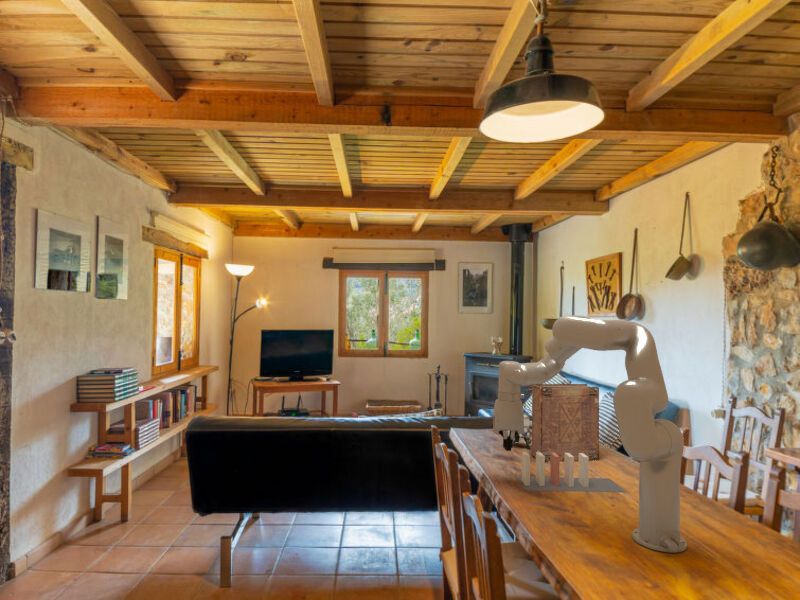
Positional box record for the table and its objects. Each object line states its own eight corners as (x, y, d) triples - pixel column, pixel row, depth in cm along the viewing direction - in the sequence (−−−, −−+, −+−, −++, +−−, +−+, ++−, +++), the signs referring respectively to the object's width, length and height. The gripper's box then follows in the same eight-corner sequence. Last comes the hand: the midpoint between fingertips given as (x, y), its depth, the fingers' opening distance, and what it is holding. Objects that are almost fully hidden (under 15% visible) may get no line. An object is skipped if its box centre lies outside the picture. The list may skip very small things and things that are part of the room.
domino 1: (529, 485, 168) (530, 456, 168) (525, 485, 168) (525, 455, 168) (526, 480, 173) (526, 452, 173) (521, 480, 173) (521, 451, 173)
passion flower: (527, 459, 220) (538, 441, 214) (504, 455, 219) (514, 437, 213) (522, 440, 230) (532, 422, 223) (500, 436, 228) (510, 418, 222)
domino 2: (544, 486, 168) (544, 456, 168) (539, 485, 168) (540, 456, 168) (540, 481, 173) (540, 452, 173) (535, 481, 173) (536, 452, 173)
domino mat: (627, 494, 164) (627, 492, 164) (524, 492, 163) (524, 490, 164) (609, 480, 178) (609, 478, 178) (515, 478, 177) (515, 476, 178)
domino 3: (559, 486, 168) (559, 456, 168) (554, 486, 168) (554, 456, 168) (554, 481, 173) (555, 452, 173) (550, 481, 173) (550, 452, 173)
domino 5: (588, 486, 168) (588, 457, 168) (583, 486, 168) (584, 457, 168) (583, 482, 173) (583, 453, 173) (578, 481, 173) (578, 453, 173)
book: (586, 454, 211) (587, 383, 212) (599, 460, 202) (599, 386, 203) (531, 456, 207) (532, 384, 208) (541, 462, 198) (542, 387, 199)
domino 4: (573, 486, 168) (574, 457, 168) (569, 486, 168) (569, 456, 168) (568, 481, 173) (569, 452, 173) (564, 481, 173) (564, 452, 173)
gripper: (527, 395, 175) (526, 447, 175) (485, 394, 175) (484, 446, 175) (533, 399, 168) (532, 453, 167) (489, 398, 168) (488, 452, 167)
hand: (507, 449), depth 171 cm, fingers closed
